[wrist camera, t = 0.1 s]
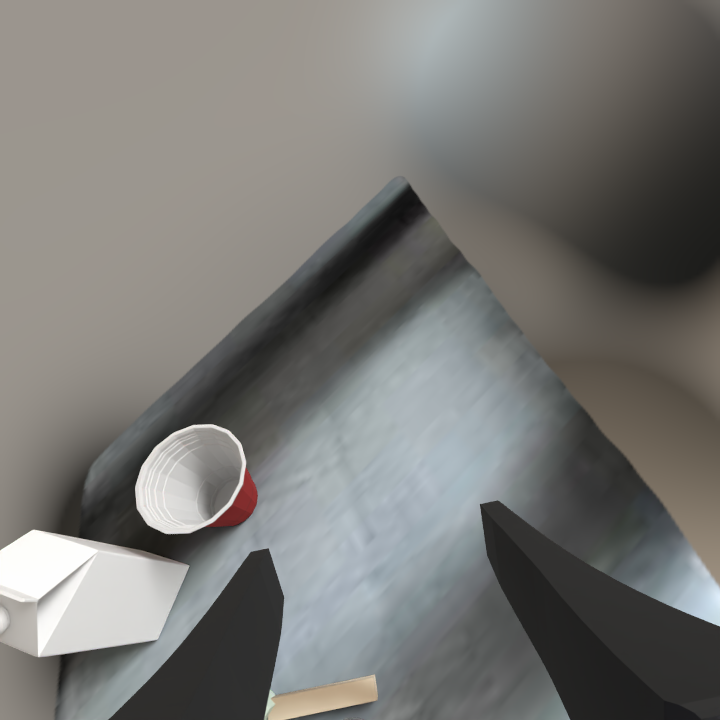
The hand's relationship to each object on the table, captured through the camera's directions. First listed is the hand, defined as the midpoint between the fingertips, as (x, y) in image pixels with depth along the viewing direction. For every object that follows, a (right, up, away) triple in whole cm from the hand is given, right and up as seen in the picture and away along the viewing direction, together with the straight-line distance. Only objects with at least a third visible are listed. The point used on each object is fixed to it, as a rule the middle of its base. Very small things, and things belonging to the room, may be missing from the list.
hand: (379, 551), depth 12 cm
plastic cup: (-16, -12, +33) cm, 39 cm away
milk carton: (-25, -20, +29) cm, 43 cm away
